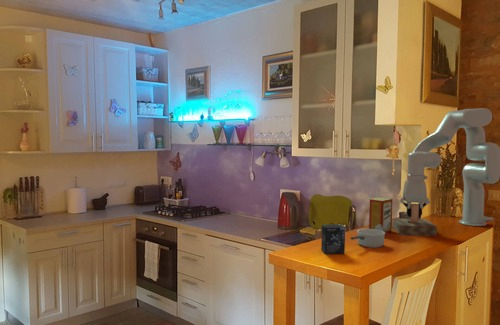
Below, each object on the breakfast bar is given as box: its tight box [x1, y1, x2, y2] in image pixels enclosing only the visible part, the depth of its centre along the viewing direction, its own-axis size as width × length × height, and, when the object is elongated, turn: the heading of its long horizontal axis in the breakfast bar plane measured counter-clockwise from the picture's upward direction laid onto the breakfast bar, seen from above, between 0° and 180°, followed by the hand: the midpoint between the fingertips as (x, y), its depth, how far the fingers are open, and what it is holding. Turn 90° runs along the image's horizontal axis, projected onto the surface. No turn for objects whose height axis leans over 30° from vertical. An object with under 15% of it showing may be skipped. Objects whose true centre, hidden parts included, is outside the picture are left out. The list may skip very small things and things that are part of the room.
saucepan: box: [350, 228, 386, 249], centre depth 172 cm, size 12×20×6 cm, turn 133°
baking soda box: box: [368, 197, 393, 234], centre depth 198 cm, size 10×6×16 cm
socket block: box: [392, 217, 438, 237], centre depth 199 cm, size 16×16×4 cm
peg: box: [409, 203, 420, 224], centre depth 199 cm, size 4×4×12 cm
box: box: [320, 223, 346, 255], centre depth 163 cm, size 8×6×11 cm
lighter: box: [375, 220, 391, 238], centre depth 189 cm, size 7×2×8 cm, turn 43°
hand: (414, 216), depth 199 cm, fingers closed on peg, 4 cm apart
